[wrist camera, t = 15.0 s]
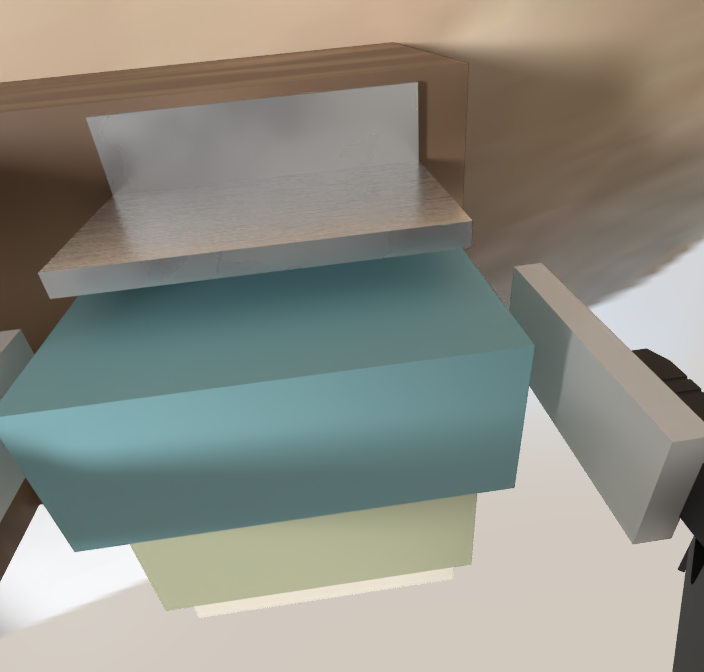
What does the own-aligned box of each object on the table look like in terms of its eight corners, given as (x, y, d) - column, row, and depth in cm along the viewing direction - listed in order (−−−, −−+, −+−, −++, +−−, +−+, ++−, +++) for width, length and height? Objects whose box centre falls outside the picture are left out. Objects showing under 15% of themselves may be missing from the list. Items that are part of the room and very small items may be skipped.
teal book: (116, 244, 16) (-13, 418, 9) (431, 206, 16) (534, 345, 9) (154, 349, 18) (74, 552, 11) (431, 313, 18) (514, 487, 12)
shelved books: (177, 370, 18) (125, 536, 12) (418, 338, 19) (477, 485, 13) (214, 478, 22) (188, 651, 16) (419, 449, 22) (467, 607, 16)
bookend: (89, 115, 14) (-13, 167, 9) (415, 81, 14) (478, 113, 9) (122, 211, 15) (50, 299, 10) (416, 178, 15) (471, 247, 11)
